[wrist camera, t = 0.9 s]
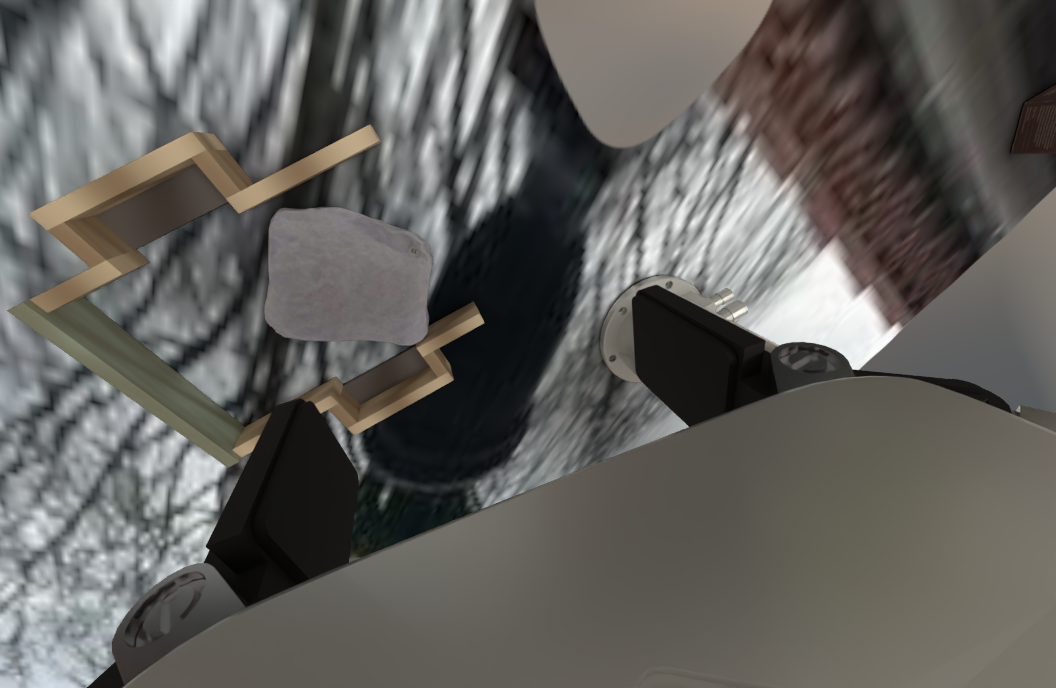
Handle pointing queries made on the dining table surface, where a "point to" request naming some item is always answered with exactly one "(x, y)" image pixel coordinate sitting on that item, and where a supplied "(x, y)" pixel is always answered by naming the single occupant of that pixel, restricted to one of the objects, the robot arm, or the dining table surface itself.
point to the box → (1037, 125)
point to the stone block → (346, 278)
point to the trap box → (111, 251)
